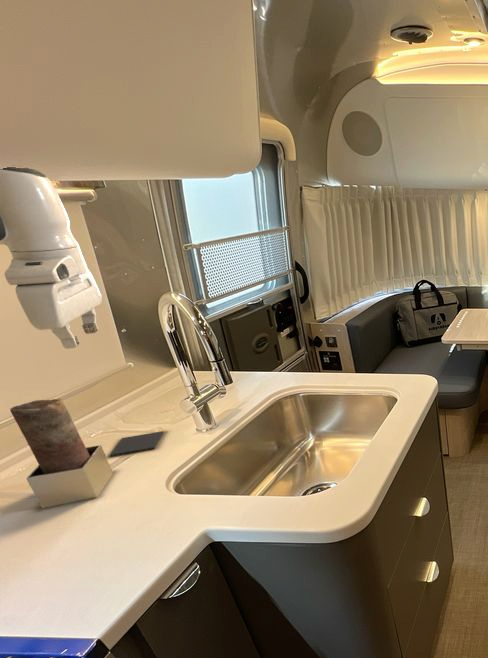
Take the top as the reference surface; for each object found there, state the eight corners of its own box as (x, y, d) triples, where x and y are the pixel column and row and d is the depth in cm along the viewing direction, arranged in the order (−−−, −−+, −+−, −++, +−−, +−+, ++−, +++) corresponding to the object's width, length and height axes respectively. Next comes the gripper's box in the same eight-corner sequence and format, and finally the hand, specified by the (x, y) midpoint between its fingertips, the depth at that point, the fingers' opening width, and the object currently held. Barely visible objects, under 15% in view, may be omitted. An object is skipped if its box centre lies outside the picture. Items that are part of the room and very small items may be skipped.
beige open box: (42, 508, 94) (26, 478, 91) (63, 481, 102) (48, 453, 99) (96, 497, 97) (83, 467, 94) (113, 472, 105) (101, 444, 102)
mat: (111, 456, 111) (110, 454, 111) (122, 439, 118) (122, 438, 118) (154, 448, 114) (154, 446, 114) (163, 432, 121) (163, 431, 121)
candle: (46, 496, 98) (-1, 407, 89) (87, 476, 104) (47, 392, 96) (71, 503, 95) (26, 413, 87) (111, 482, 102) (73, 397, 93)
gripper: (56, 257, 93) (83, 326, 99) (-3, 276, 76) (35, 359, 81) (96, 255, 95) (121, 323, 101) (49, 273, 78) (82, 354, 84)
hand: (82, 339), depth 91 cm, fingers open, 8 cm apart
